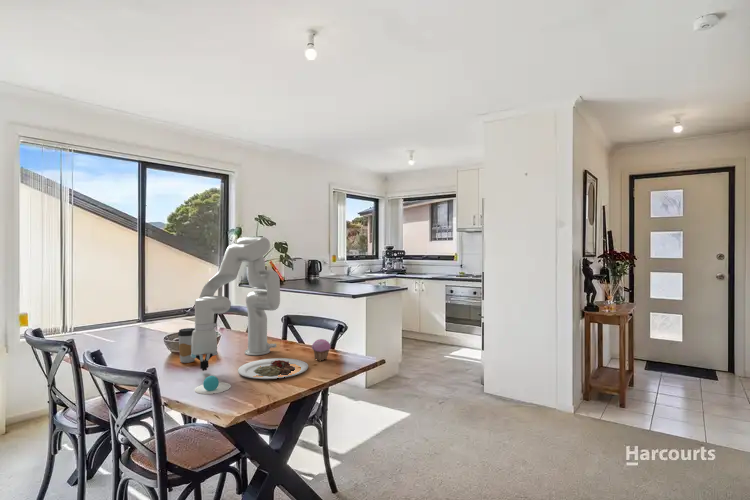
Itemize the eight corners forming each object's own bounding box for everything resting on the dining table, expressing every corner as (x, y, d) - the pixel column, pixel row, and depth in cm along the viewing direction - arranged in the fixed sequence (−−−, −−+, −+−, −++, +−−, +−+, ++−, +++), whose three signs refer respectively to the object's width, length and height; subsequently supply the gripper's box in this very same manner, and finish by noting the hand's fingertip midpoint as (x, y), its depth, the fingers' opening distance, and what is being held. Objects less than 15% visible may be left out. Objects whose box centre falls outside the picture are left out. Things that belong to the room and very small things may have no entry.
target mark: (227, 380, 170) (227, 380, 170) (234, 390, 159) (234, 389, 159) (192, 386, 164) (192, 385, 164) (197, 396, 152) (197, 395, 152)
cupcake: (322, 356, 208) (323, 336, 208) (334, 360, 202) (334, 339, 202) (308, 360, 202) (308, 339, 202) (319, 363, 196) (319, 342, 196)
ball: (219, 379, 157) (219, 392, 158) (218, 372, 162) (217, 385, 163) (203, 380, 154) (203, 394, 155) (202, 374, 159) (202, 387, 160)
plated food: (236, 385, 166) (236, 376, 166) (239, 364, 195) (239, 357, 195) (312, 379, 174) (312, 371, 174) (304, 360, 203) (304, 353, 203)
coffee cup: (200, 359, 203) (200, 328, 203) (191, 363, 194) (191, 331, 194) (184, 358, 204) (184, 327, 203) (174, 363, 195) (174, 331, 195)
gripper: (220, 324, 187) (220, 365, 187) (184, 327, 180) (184, 370, 180) (224, 327, 181) (224, 369, 181) (186, 330, 173) (186, 374, 173)
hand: (204, 369), depth 180 cm, fingers closed
